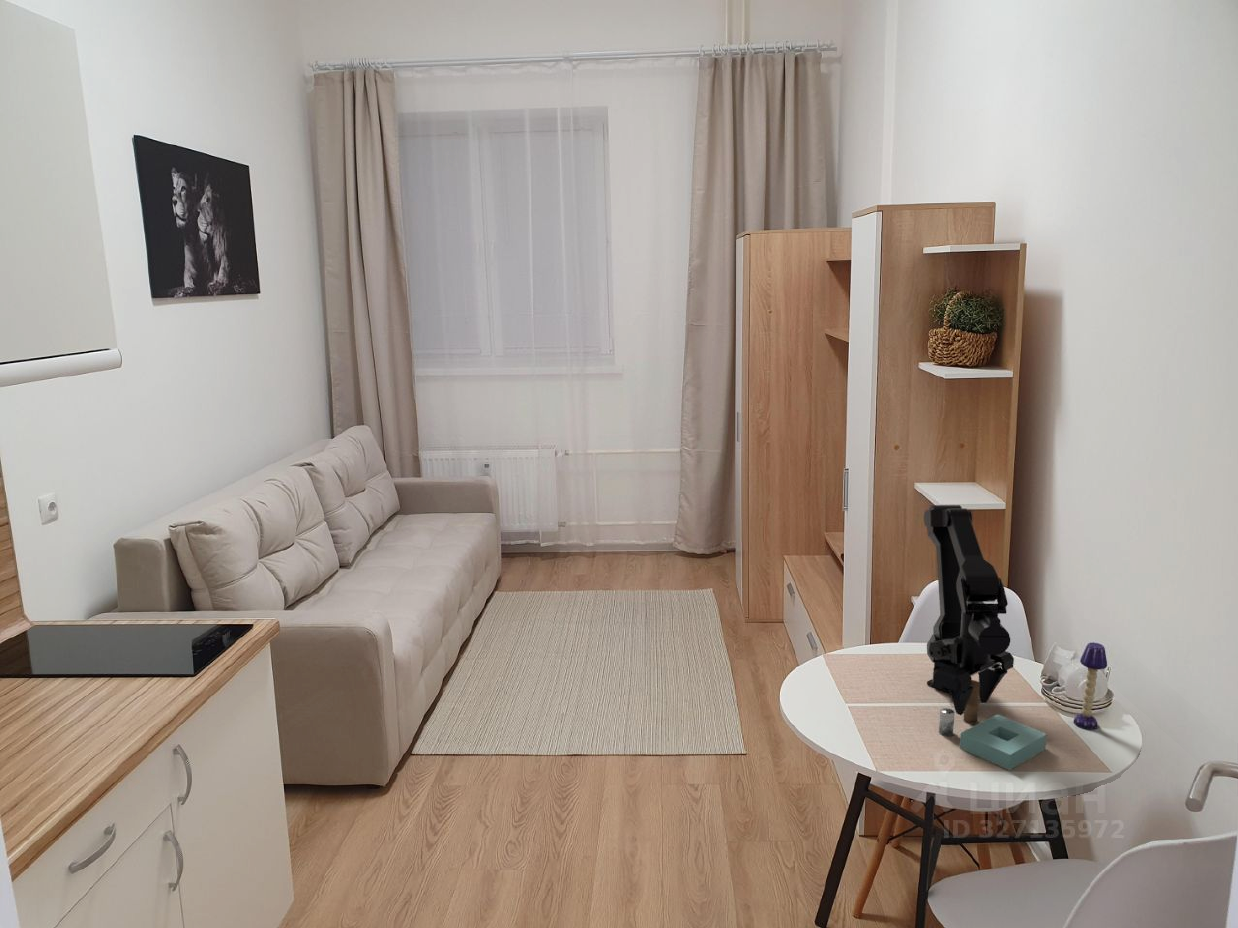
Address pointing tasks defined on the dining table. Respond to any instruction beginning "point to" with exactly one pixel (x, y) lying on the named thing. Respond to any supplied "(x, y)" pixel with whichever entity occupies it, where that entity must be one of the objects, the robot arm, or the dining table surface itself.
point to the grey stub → (946, 722)
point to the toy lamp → (1090, 682)
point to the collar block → (1003, 741)
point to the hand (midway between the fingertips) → (971, 708)
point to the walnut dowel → (972, 704)
